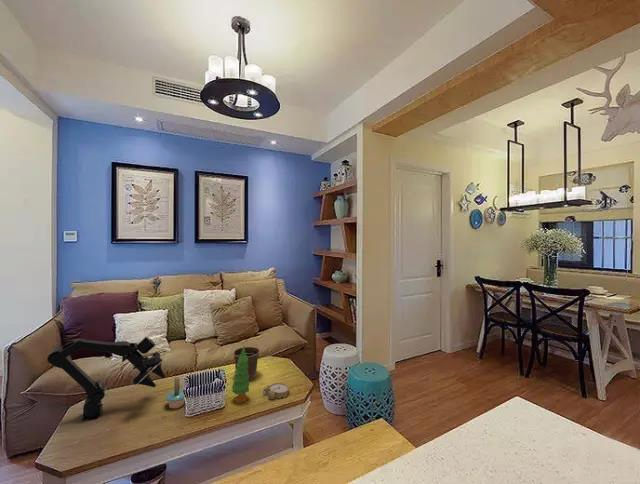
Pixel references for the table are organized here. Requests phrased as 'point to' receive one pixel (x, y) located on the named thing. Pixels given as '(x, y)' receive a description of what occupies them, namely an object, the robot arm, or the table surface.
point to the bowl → (176, 404)
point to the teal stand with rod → (175, 392)
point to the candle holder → (276, 390)
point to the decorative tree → (241, 378)
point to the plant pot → (249, 360)
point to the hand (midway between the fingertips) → (159, 381)
